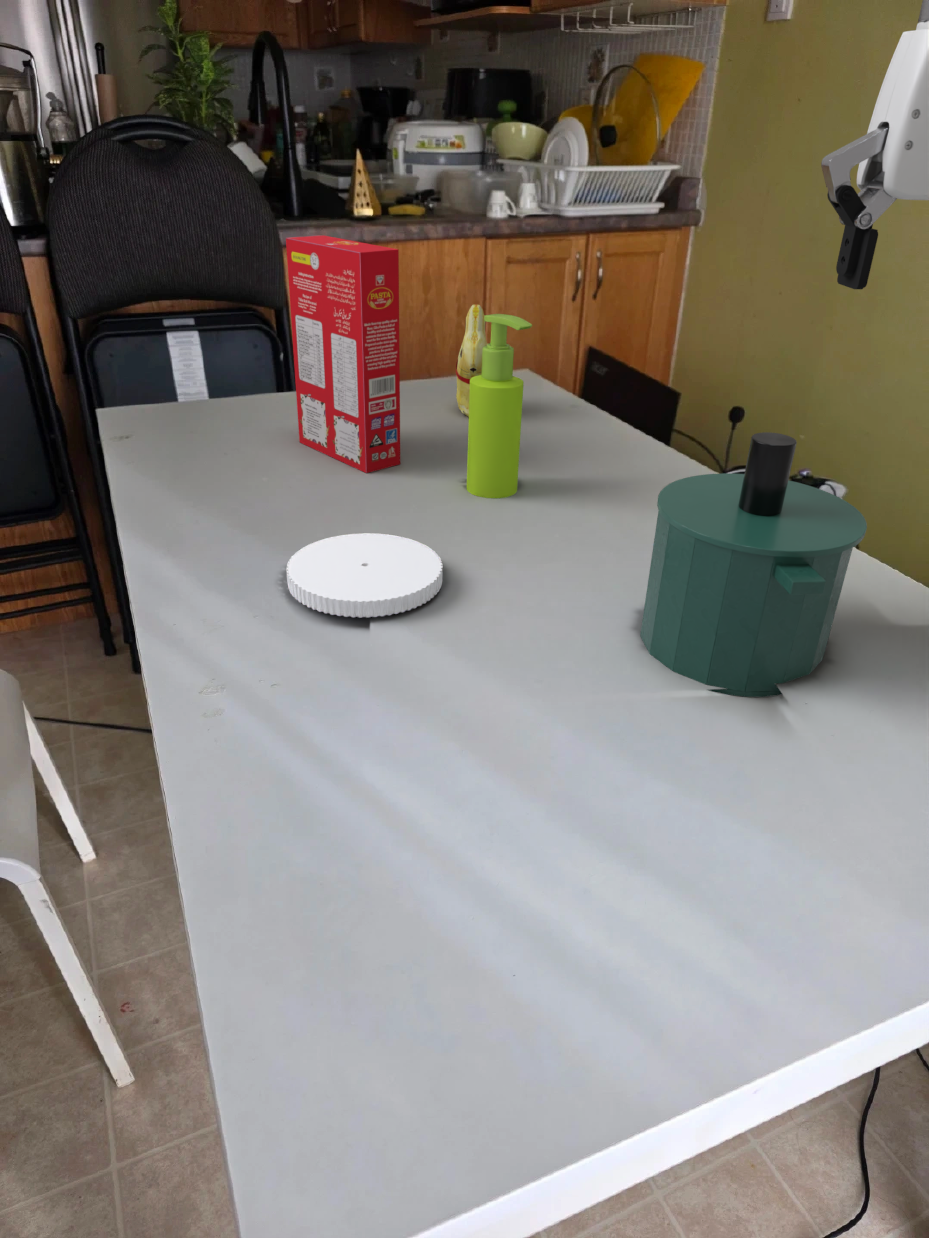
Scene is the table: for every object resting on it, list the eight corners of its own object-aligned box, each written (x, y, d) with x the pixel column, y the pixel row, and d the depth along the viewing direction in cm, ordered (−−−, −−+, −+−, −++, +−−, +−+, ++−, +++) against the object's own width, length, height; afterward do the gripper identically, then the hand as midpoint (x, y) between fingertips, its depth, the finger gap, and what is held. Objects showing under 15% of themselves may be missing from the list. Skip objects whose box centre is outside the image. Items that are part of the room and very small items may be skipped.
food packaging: (400, 464, 110) (398, 249, 98) (366, 473, 107) (360, 252, 95) (332, 434, 120) (323, 235, 107) (299, 442, 117) (285, 237, 104)
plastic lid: (418, 637, 74) (418, 611, 72) (262, 614, 76) (260, 589, 75) (458, 566, 86) (458, 543, 84) (322, 549, 88) (320, 525, 87)
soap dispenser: (497, 509, 98) (506, 324, 89) (456, 491, 103) (460, 313, 93) (533, 497, 102) (546, 318, 92) (492, 480, 106) (500, 307, 96)
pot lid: (808, 484, 76) (826, 408, 72) (903, 563, 62) (931, 474, 59) (633, 486, 74) (643, 409, 71) (693, 567, 61) (708, 476, 57)
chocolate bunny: (453, 420, 127) (455, 312, 120) (456, 399, 137) (459, 297, 129) (500, 422, 127) (506, 313, 120) (500, 400, 137) (505, 299, 129)
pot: (763, 590, 83) (790, 469, 77) (868, 714, 66) (913, 570, 60) (614, 594, 82) (629, 470, 76) (681, 721, 64) (708, 574, 58)
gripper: (1068, 16, 61) (990, 279, 69) (829, 8, 59) (779, 278, 68) (1152, 5, 54) (1055, 296, 63) (887, -5, 53) (824, 295, 61)
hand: (912, 286), depth 65 cm, fingers open, 9 cm apart
